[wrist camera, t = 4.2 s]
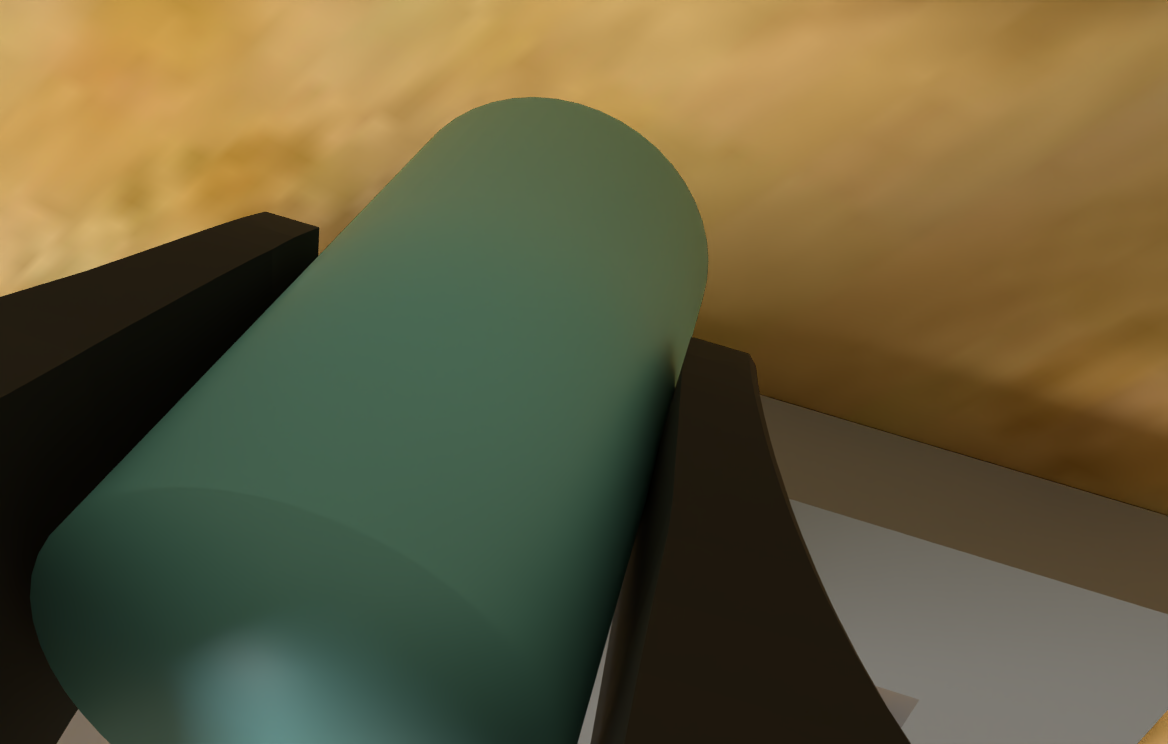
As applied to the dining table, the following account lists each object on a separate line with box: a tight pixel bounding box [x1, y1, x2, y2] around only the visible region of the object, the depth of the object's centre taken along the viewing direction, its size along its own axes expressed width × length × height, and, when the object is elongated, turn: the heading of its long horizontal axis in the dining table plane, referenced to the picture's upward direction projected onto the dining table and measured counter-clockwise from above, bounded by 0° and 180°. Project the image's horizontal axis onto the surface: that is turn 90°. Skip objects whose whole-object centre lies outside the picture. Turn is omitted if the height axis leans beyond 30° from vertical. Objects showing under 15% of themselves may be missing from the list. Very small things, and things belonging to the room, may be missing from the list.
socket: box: [577, 395, 1168, 744], centre depth 24 cm, size 14×14×3 cm
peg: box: [30, 97, 708, 744], centre depth 10 cm, size 4×4×7 cm
